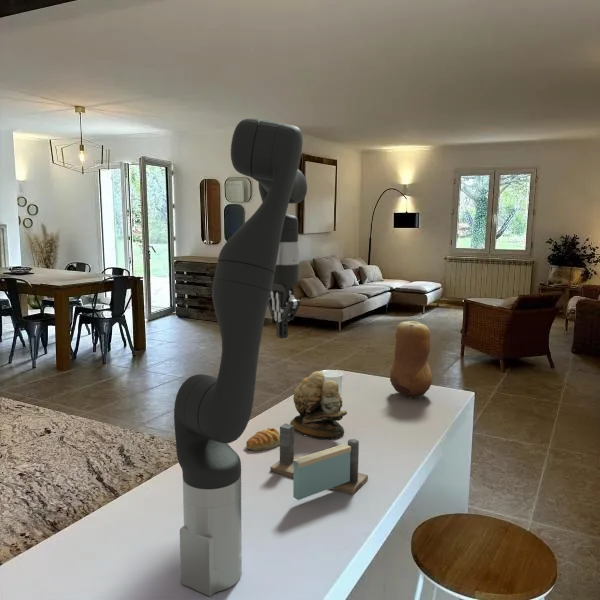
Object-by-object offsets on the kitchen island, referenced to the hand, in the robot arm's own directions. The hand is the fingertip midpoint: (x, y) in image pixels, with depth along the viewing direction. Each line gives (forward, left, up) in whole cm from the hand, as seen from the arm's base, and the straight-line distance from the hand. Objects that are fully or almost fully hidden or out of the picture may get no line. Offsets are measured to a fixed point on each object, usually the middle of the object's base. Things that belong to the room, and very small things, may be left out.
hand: (281, 337), depth 125 cm
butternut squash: (+66, -9, -31) cm, 74 cm away
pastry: (+8, +10, -32) cm, 34 cm away
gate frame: (0, -10, -31) cm, 33 cm away
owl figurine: (+24, +3, -31) cm, 40 cm away
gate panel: (-8, -15, -29) cm, 34 cm away
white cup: (+45, +10, -31) cm, 56 cm away
